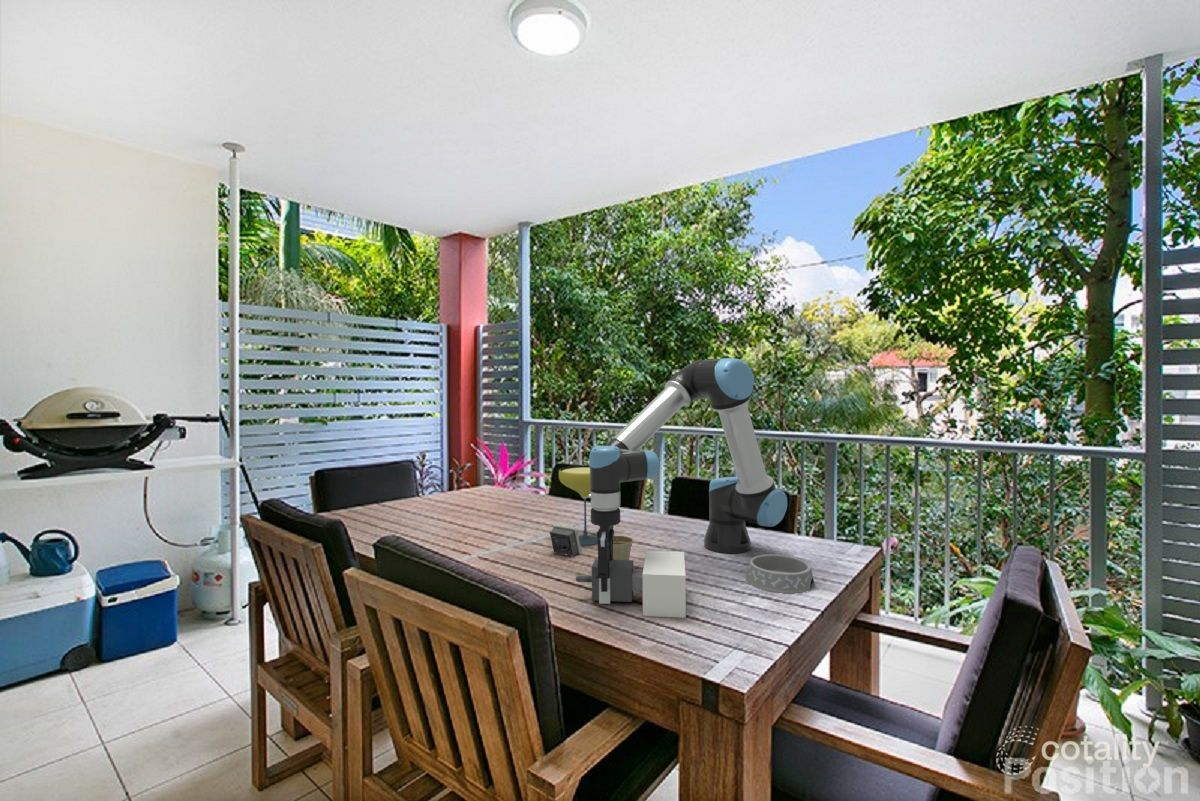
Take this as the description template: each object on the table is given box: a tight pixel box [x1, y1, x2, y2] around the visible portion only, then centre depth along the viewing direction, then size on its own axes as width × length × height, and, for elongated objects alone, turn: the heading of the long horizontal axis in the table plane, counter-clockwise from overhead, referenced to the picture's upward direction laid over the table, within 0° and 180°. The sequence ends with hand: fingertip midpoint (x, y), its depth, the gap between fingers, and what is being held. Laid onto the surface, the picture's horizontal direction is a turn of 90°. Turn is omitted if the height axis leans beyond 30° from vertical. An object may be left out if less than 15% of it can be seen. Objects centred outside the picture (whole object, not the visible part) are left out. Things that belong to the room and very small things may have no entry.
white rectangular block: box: [642, 550, 687, 619], centre depth 139 cm, size 10×18×10 cm, turn 173°
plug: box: [575, 558, 643, 603], centre depth 140 cm, size 20×6×8 cm, turn 83°
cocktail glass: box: [558, 464, 598, 546], centre depth 191 cm, size 18×18×25 cm
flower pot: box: [613, 535, 634, 560], centre depth 163 cm, size 9×9×9 cm
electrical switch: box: [549, 524, 582, 557], centre depth 177 cm, size 9×5×9 cm, turn 57°
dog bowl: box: [745, 553, 815, 595], centre depth 152 cm, size 17×18×5 cm
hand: (606, 597), depth 141 cm, fingers closed on plug, 6 cm apart
